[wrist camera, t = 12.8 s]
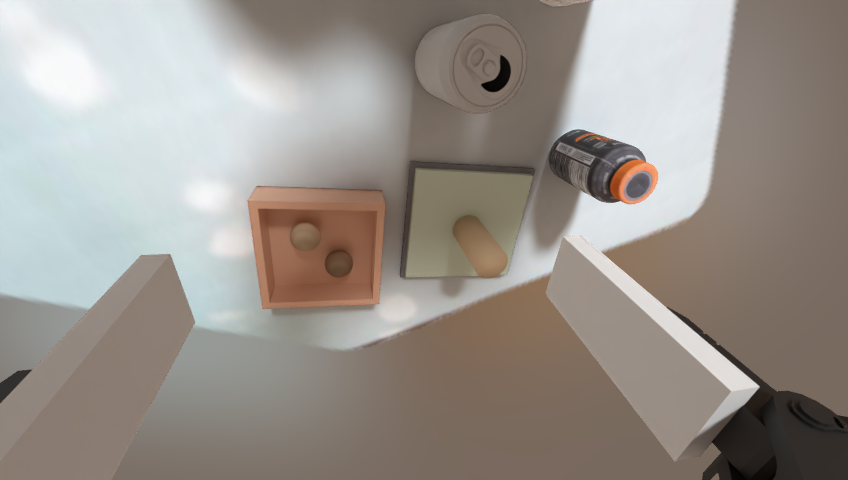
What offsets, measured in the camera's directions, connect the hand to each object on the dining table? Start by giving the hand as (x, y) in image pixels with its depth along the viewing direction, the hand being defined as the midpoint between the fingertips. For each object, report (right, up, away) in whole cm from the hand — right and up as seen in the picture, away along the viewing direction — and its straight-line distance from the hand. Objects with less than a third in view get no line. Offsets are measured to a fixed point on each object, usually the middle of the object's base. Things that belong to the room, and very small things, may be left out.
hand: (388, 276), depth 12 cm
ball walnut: (-9, -1, +27) cm, 29 cm away
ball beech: (-12, +2, +25) cm, 28 cm away
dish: (-11, +1, +28) cm, 30 cm away
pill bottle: (+19, +12, +29) cm, 37 cm away
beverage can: (+3, +19, +22) cm, 29 cm away
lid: (+6, +3, +30) cm, 31 cm away
